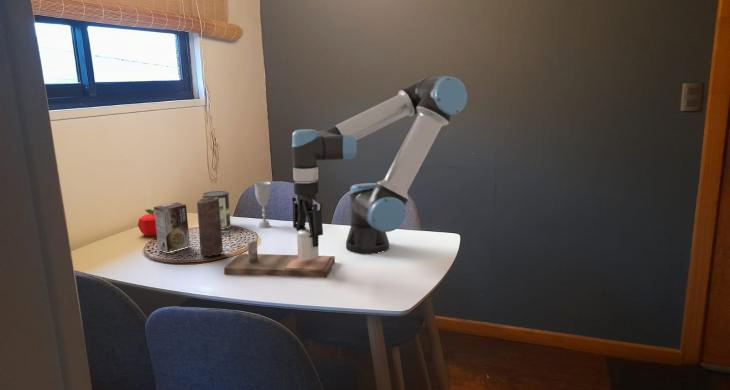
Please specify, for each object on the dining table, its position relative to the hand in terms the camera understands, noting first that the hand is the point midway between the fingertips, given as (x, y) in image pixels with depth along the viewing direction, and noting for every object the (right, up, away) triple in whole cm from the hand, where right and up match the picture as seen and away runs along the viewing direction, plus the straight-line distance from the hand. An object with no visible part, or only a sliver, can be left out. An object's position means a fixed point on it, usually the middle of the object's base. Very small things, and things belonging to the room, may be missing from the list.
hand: (308, 253), depth 165 cm
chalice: (-23, +5, +50) cm, 55 cm away
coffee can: (-42, +5, +50) cm, 66 cm away
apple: (-65, +3, +41) cm, 77 cm away
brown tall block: (-35, -3, +15) cm, 38 cm away
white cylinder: (0, -1, 0) cm, 1 cm away
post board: (-9, -5, +2) cm, 10 cm away
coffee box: (-50, -1, +22) cm, 54 cm away
